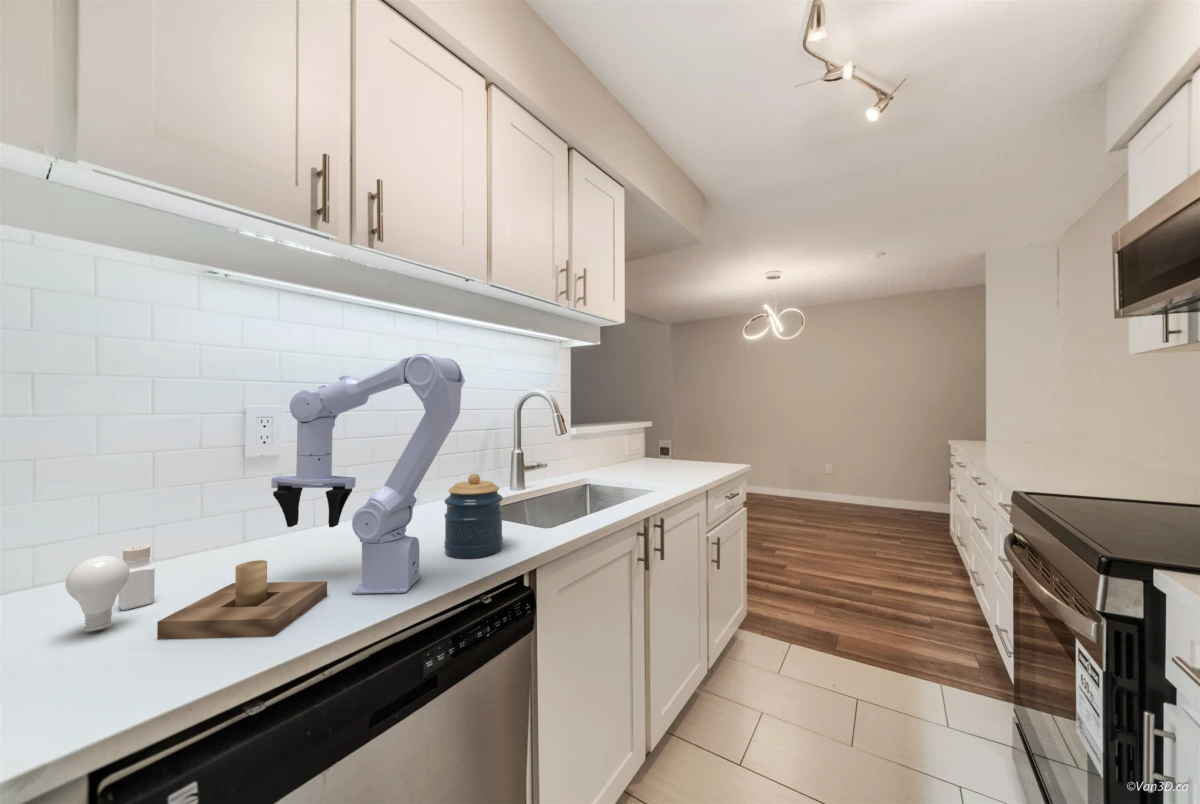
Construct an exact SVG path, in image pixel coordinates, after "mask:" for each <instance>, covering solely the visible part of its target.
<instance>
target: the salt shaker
mask: <svg viewBox="0 0 1200 804" xmlns="http://www.w3.org/2000/svg"><path fill="white" fill-rule="evenodd" d="M150 558H151V545H148V544H143V545H142V544H141V545H134V546H129V547H126V548H124V549H123V550H122V559H123V560H124V561H125V562H126V563H127V564H128V566H129V570H130V575H129V578H128V581H127V582H126V584H125V585H124V587H123V588H122V589H121V590H120V592H119V593H118V595H117V598H118V599H117V600H118V601H117V602H118V606H119V609H120V610H121V611H127V610H131V609H135V608H139V607H144V606H147V605H151V604H153V603H154V602H155V579H156V578H155V574H156V573H155V571H156V570H155V565H154V563H151V562H150Z"/></svg>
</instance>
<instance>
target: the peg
mask: <svg viewBox="0 0 1200 804" xmlns="http://www.w3.org/2000/svg"><path fill="white" fill-rule="evenodd" d="M234 569H235V576H234V578H235V582H234V583H235V607H257V606H259V605H260V604H262V603H263V602H265V601H267V582H268V561H267V560H262V559H260V560H258V559H257V560H251V561H246V562H243V563H240V564H238V565H236V566H235V568H234Z"/></svg>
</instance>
